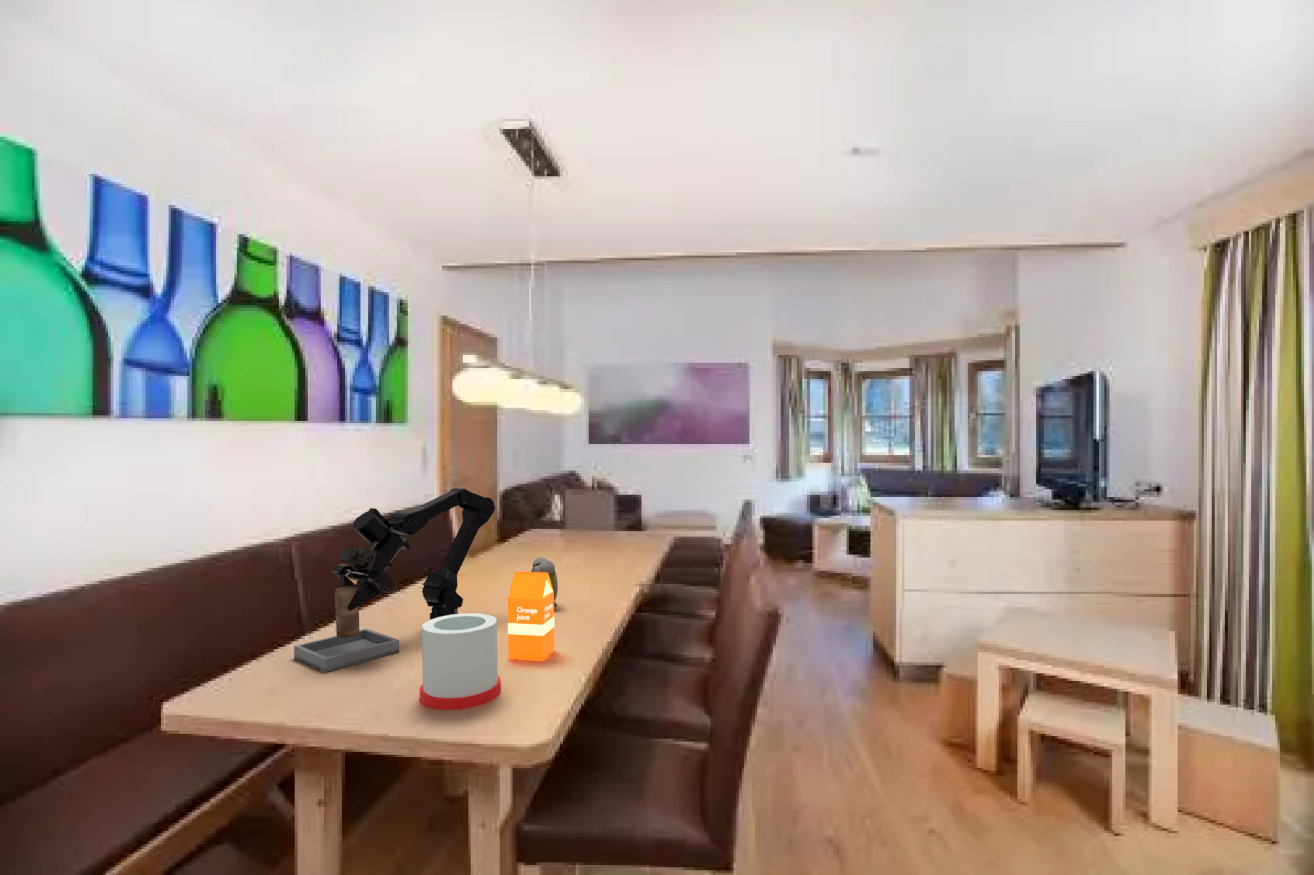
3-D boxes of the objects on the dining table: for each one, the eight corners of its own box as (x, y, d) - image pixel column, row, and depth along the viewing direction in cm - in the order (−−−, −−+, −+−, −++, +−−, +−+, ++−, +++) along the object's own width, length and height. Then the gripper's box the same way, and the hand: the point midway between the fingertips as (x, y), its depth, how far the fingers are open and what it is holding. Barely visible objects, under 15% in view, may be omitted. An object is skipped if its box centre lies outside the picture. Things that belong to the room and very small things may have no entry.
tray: (366, 640, 176) (366, 628, 176) (399, 652, 166) (399, 639, 165) (294, 658, 162) (294, 645, 162) (324, 672, 152) (324, 659, 152)
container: (470, 674, 150) (469, 608, 150) (516, 691, 140) (515, 620, 139) (404, 696, 137) (402, 625, 137) (449, 717, 127) (448, 639, 127)
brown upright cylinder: (364, 632, 162) (362, 586, 162) (349, 638, 158) (347, 591, 157) (347, 630, 164) (345, 585, 164) (331, 637, 159) (330, 590, 159)
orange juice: (543, 661, 158) (542, 576, 157) (508, 659, 159) (506, 574, 159) (555, 650, 165) (553, 569, 165) (521, 648, 167) (520, 568, 167)
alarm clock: (529, 604, 210) (529, 556, 210) (550, 602, 213) (550, 554, 213) (541, 613, 200) (541, 562, 200) (563, 610, 203) (563, 560, 203)
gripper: (338, 531, 169) (295, 584, 160) (384, 537, 159) (341, 594, 149) (368, 557, 175) (328, 610, 166) (413, 564, 165) (374, 620, 156)
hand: (341, 608), depth 159 cm, fingers closed on brown upright cylinder, 5 cm apart
